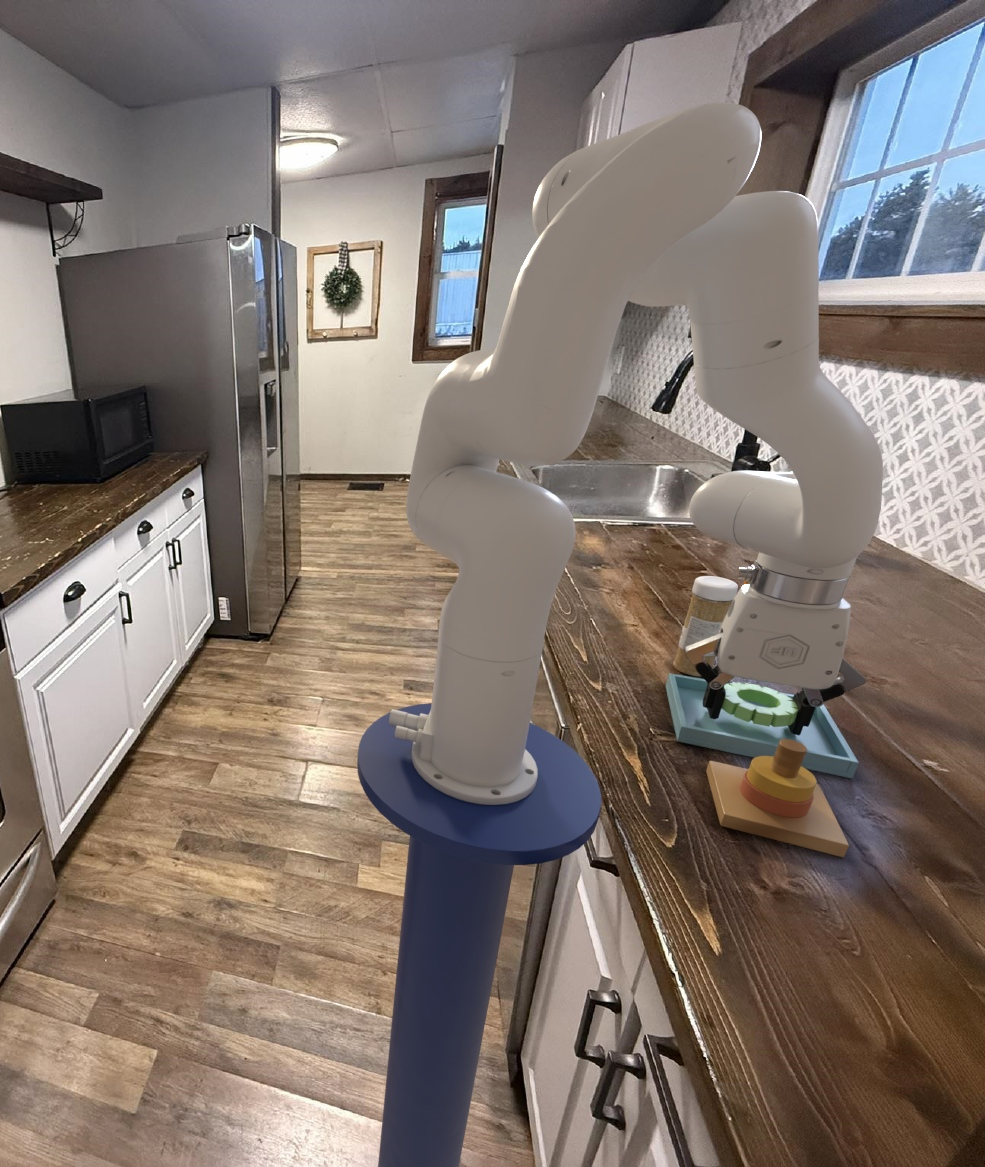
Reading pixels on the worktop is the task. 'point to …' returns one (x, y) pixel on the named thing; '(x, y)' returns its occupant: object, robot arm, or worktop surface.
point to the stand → (777, 800)
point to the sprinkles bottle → (704, 617)
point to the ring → (776, 715)
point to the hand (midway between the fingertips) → (751, 719)
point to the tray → (755, 730)
